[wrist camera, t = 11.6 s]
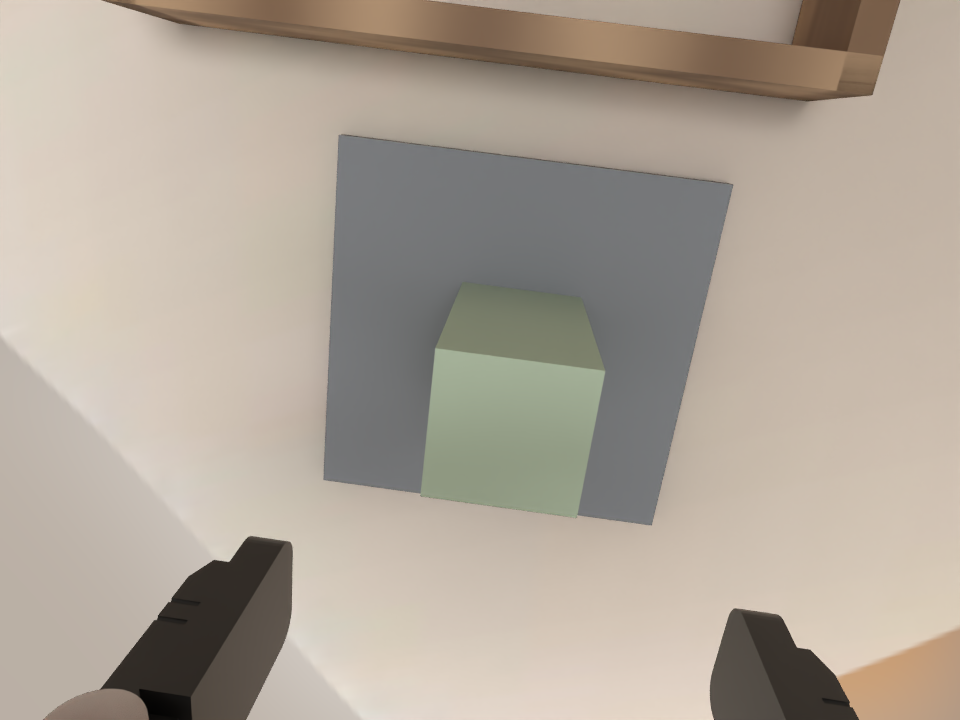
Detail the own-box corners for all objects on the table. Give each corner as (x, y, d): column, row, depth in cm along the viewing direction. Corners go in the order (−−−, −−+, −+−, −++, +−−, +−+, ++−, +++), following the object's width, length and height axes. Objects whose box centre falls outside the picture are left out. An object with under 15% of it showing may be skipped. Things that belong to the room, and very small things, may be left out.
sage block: (581, 297, 25) (605, 371, 17) (562, 407, 26) (576, 517, 19) (462, 281, 25) (435, 348, 18) (450, 391, 27) (420, 495, 19)
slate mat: (728, 183, 24) (733, 184, 23) (648, 517, 29) (651, 525, 28) (343, 134, 24) (338, 134, 24) (327, 472, 29) (323, 479, 28)
